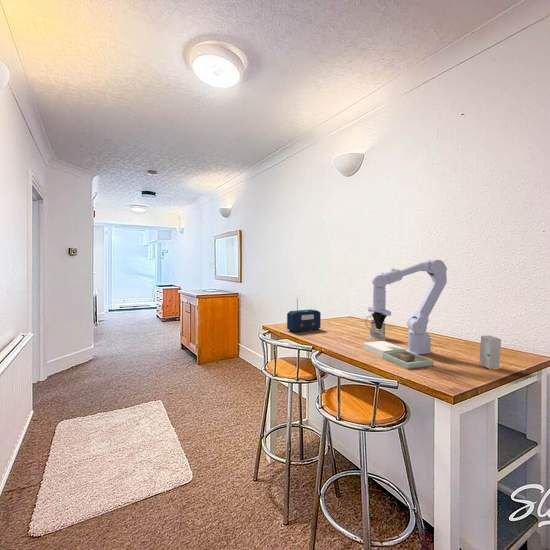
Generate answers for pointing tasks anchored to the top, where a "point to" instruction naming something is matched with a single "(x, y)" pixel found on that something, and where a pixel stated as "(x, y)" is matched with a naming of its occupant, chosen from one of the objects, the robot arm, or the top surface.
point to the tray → (418, 363)
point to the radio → (303, 320)
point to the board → (381, 347)
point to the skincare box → (490, 351)
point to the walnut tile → (406, 357)
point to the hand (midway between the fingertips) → (378, 328)
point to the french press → (376, 334)
